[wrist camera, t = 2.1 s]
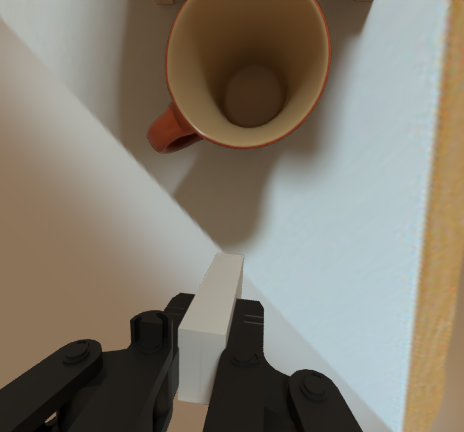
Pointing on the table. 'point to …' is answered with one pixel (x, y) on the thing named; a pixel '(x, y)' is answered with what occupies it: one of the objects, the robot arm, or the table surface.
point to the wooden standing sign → (171, 1)
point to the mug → (242, 72)
